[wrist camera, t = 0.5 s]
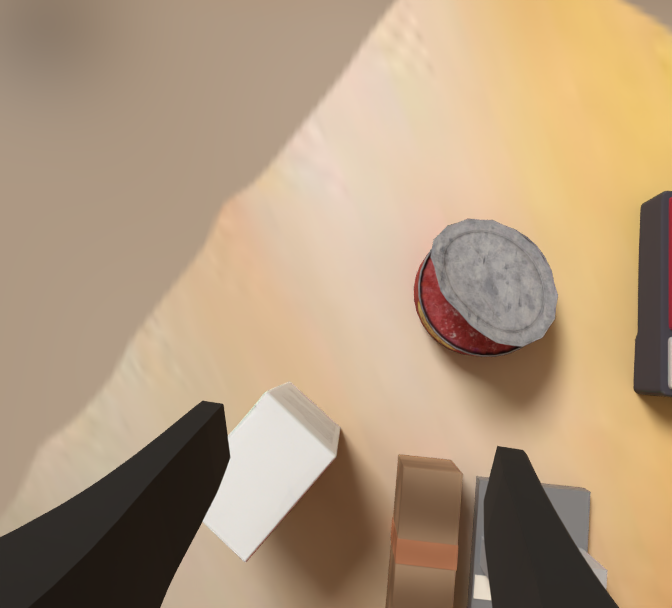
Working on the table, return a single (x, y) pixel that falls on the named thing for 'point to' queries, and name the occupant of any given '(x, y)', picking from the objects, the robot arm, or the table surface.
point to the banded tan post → (424, 533)
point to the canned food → (485, 289)
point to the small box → (270, 467)
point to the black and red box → (655, 299)
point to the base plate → (572, 513)
